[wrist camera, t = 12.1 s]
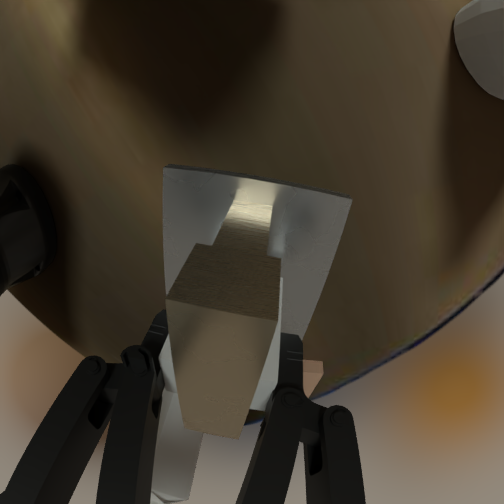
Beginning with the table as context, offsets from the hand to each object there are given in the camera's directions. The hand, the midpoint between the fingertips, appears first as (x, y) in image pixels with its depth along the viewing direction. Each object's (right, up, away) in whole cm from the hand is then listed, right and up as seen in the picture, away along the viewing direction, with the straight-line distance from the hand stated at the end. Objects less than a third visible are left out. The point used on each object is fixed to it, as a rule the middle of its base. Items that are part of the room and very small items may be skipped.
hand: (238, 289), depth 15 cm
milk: (-9, -19, +23) cm, 32 cm away
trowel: (0, +1, +2) cm, 2 cm away
